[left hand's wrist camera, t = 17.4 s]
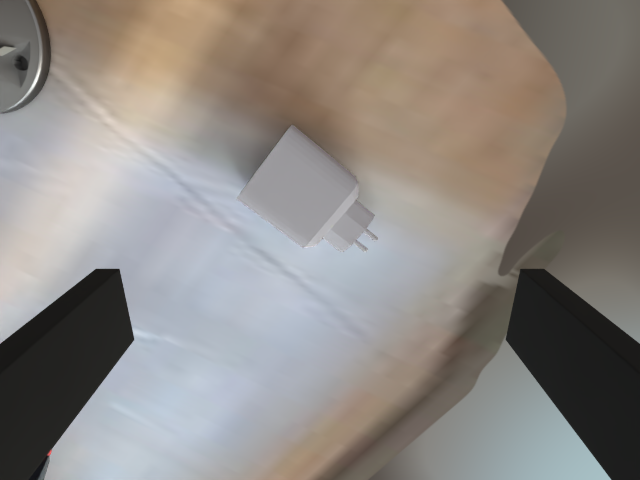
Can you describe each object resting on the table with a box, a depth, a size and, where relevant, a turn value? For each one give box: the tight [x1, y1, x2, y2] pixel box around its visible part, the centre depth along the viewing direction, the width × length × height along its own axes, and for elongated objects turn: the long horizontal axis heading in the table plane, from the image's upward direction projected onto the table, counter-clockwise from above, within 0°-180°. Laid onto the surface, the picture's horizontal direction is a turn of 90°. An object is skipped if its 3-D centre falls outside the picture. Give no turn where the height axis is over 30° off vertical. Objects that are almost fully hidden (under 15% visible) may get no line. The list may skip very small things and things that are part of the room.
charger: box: [236, 124, 378, 252], centre depth 41 cm, size 5×9×15 cm
